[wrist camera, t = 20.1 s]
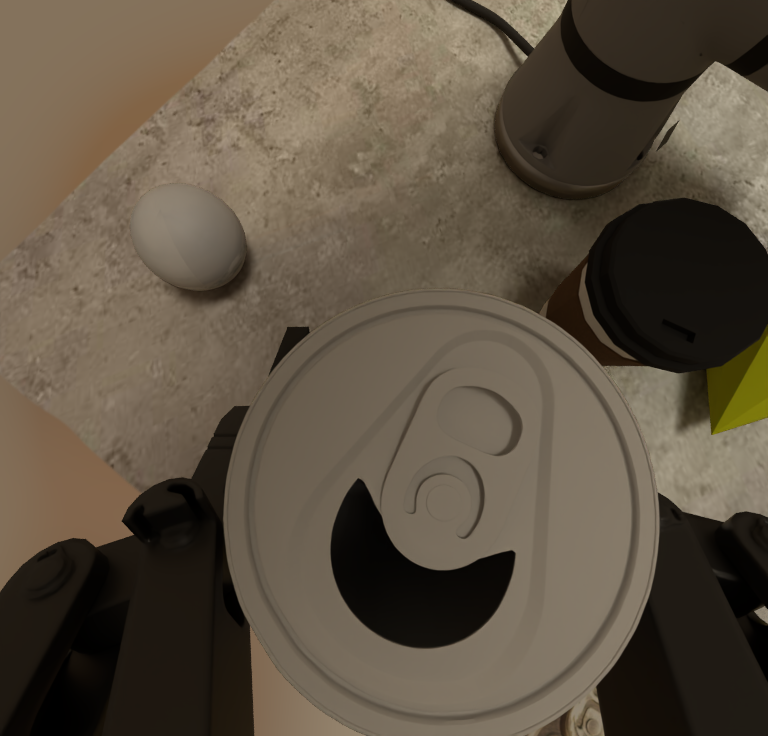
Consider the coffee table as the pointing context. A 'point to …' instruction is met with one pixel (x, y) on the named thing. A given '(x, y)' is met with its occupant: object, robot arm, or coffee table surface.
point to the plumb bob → (739, 388)
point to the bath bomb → (188, 236)
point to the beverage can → (441, 517)
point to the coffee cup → (667, 289)
